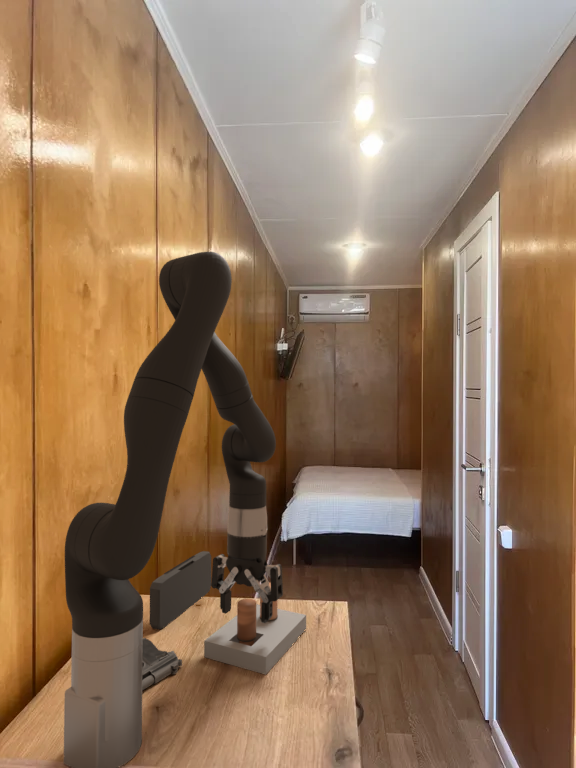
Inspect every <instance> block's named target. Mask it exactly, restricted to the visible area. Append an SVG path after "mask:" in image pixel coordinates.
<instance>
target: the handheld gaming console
mask: <svg viewBox="0 0 576 768" xmlns="http://www.w3.org/2000/svg"><path fill="white" fill-rule="evenodd" d="M211 582H212V555H211V553H210V551H200V552H198V553H196V554H195V555H192V556H191V557H188V558H186V559H185V560H184V561H183V562H180V563H179V564H177V565H175V566H174V567H172V568H170V569H169V570H168V571H165V572H164V573H163V574H162V575H160V576H158V577H157V578H156V579H154V580H153V581H152V582H151V584H150V587H149V625H150V627H151V628H152V629H154V630H162V629H163V628H165V627H167V626H168V625H170V624H171V623H172V622H174V621H175V620H176V619H177V618H178V617H179V616H181V615H182V614H183V613H184V612H186V611H187V610H188V609H190V608H191V607H192V606H193V605H195V604H196V603H197V602H199V600H201V599H202V598H203V597H205V596H206V595H207V594H208V593H209V592H210V590H211V588H212V586H211ZM201 597H202V598H201ZM194 603H195V604H194ZM190 606H191V607H190ZM189 607H190V608H189Z"/></svg>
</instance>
